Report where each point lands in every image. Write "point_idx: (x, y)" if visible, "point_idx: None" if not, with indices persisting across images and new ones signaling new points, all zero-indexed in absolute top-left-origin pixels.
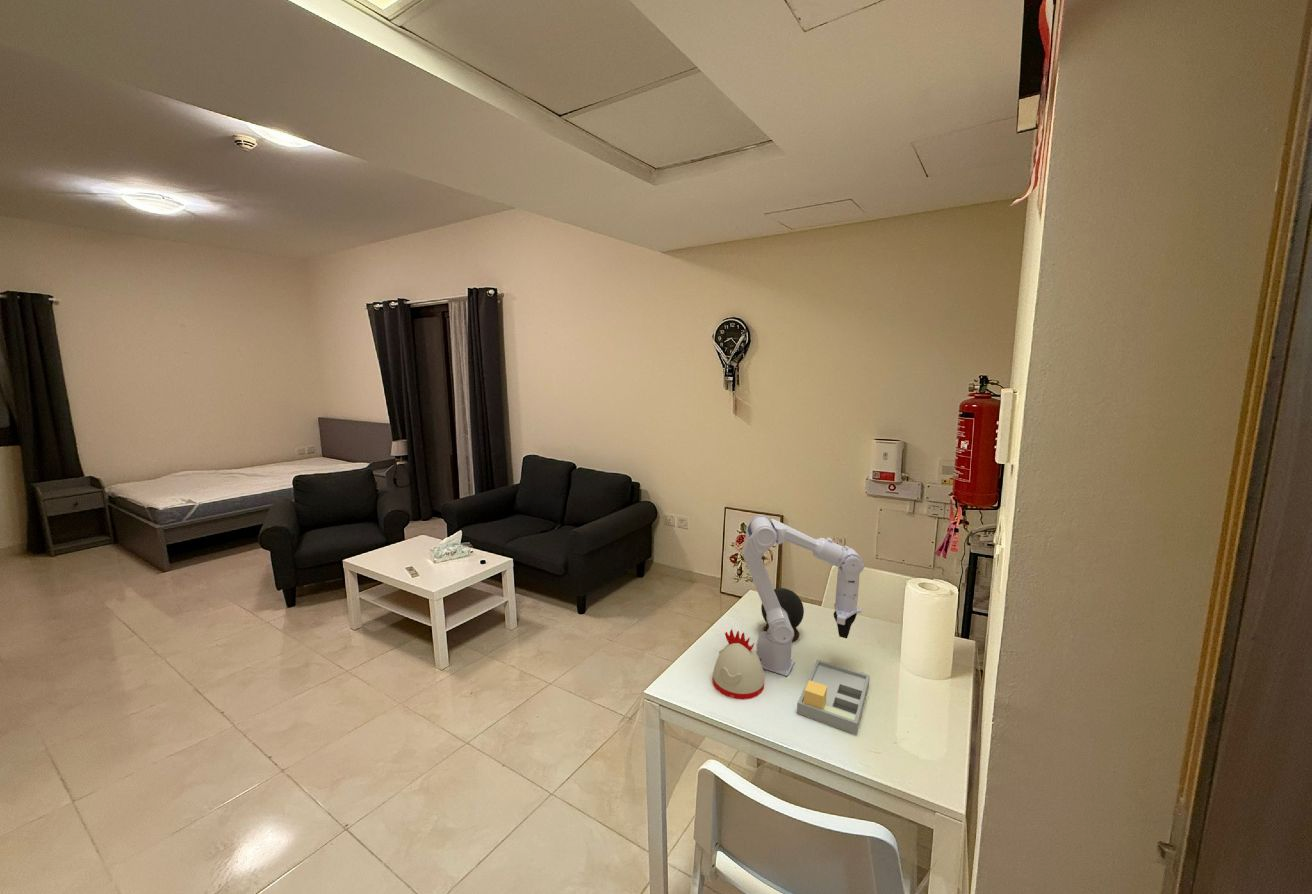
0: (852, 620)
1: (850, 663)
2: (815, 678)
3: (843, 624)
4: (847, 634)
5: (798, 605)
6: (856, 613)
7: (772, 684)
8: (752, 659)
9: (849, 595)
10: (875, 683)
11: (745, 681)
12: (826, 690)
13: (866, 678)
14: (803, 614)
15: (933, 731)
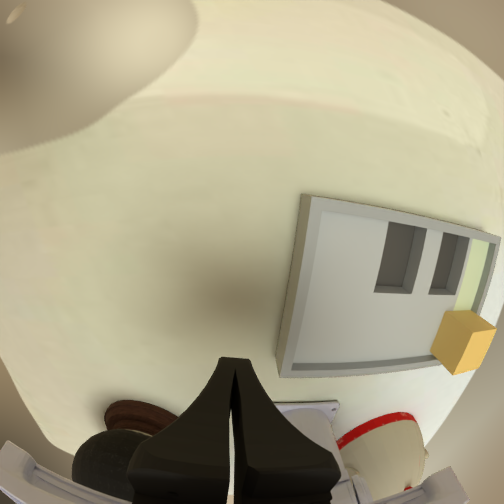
0: (338, 471)
1: (188, 262)
2: (363, 356)
3: (448, 471)
4: (256, 376)
5: (129, 496)
6: (168, 474)
7: (370, 410)
8: (415, 471)
9: None
10: (279, 171)
11: (423, 443)
12: (471, 327)
13: (338, 209)
14: (113, 453)
15: (418, 55)
